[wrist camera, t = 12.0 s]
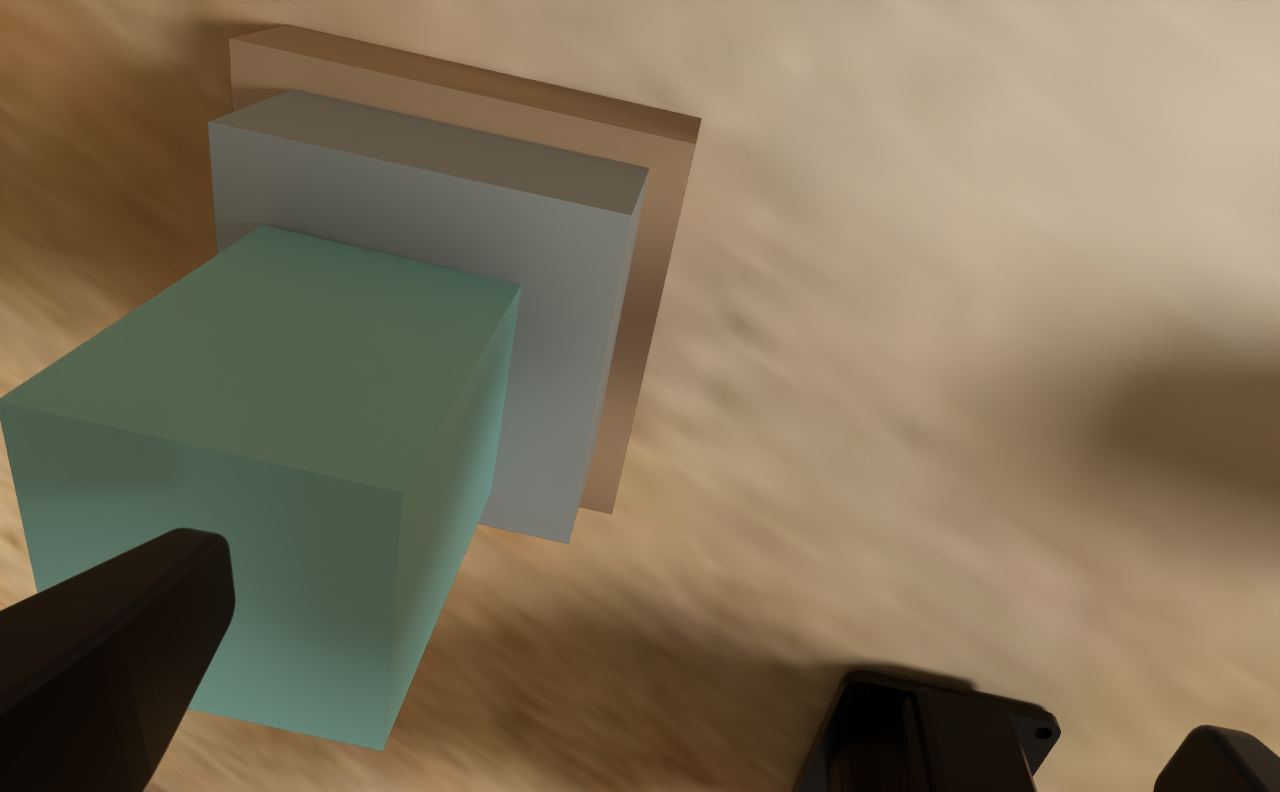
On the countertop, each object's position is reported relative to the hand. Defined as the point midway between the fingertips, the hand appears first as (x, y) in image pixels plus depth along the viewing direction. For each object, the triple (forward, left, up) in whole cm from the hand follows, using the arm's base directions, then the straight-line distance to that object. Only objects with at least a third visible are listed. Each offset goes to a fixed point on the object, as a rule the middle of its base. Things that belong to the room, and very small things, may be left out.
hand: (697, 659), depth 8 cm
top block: (-2, +5, -11) cm, 12 cm away
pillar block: (-2, +6, -8) cm, 10 cm away
